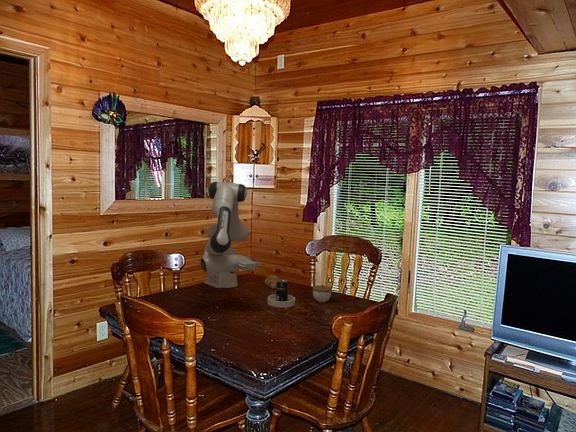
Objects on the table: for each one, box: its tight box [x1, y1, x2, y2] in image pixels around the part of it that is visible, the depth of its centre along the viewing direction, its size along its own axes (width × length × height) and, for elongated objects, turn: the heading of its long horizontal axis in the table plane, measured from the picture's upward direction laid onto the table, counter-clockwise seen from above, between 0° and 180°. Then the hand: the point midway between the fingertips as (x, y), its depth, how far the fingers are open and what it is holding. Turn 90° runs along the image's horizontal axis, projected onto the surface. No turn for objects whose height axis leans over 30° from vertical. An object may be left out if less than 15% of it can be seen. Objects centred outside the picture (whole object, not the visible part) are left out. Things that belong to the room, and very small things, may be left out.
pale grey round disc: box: [266, 293, 296, 308], centre depth 232 cm, size 15×15×3 cm
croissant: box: [264, 274, 280, 290], centre depth 269 cm, size 21×10×8 cm, turn 6°
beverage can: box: [275, 278, 289, 302], centre depth 231 cm, size 7×7×12 cm
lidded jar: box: [312, 284, 332, 303], centre depth 240 cm, size 11×11×9 cm
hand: (257, 261), depth 223 cm, fingers open, 8 cm apart
